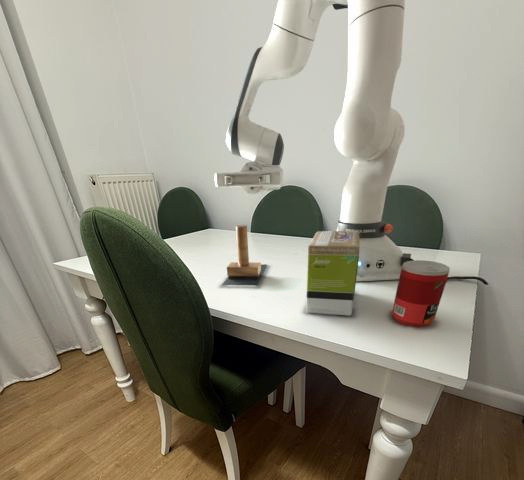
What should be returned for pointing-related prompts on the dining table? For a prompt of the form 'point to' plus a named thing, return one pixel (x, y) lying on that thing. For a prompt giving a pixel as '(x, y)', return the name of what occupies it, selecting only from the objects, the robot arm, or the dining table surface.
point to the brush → (243, 259)
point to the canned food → (419, 292)
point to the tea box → (332, 272)
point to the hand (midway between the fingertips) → (244, 179)
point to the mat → (245, 281)
